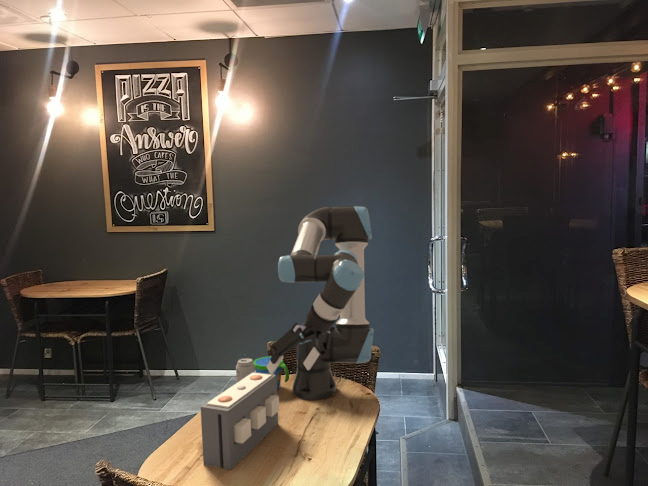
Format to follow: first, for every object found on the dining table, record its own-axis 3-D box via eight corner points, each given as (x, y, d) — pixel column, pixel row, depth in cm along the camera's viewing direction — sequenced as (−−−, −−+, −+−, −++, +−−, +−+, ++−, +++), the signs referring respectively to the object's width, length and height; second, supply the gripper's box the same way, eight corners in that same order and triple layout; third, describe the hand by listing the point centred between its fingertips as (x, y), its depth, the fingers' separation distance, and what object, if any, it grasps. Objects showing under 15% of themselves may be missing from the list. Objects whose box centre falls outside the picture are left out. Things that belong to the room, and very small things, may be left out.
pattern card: (206, 404, 123) (206, 402, 122) (252, 373, 144) (252, 372, 144) (228, 408, 120) (228, 405, 120) (271, 376, 141) (271, 374, 141)
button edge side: (233, 442, 122) (232, 425, 122) (242, 434, 126) (241, 417, 126) (242, 443, 121) (241, 426, 121) (251, 435, 125) (250, 419, 125)
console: (203, 464, 123) (200, 406, 121) (254, 420, 147) (252, 371, 145) (230, 470, 120) (227, 411, 118) (278, 424, 144) (276, 374, 143)
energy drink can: (252, 409, 155) (251, 363, 153) (235, 408, 156) (233, 363, 155) (258, 401, 161) (256, 357, 159) (241, 400, 162) (239, 357, 160)
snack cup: (242, 389, 171) (241, 361, 171) (261, 380, 180) (260, 353, 180) (278, 398, 163) (277, 368, 162) (295, 387, 172) (294, 359, 171)
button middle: (249, 427, 129) (248, 412, 129) (257, 420, 134) (257, 405, 133) (258, 429, 129) (257, 413, 128) (266, 422, 133) (265, 406, 132)
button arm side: (264, 415, 137) (263, 400, 136) (271, 409, 141) (270, 394, 141) (272, 416, 136) (271, 401, 136) (279, 410, 140) (278, 395, 140)
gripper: (296, 322, 117) (259, 383, 125) (363, 321, 135) (326, 374, 142) (282, 301, 122) (246, 361, 129) (348, 303, 139) (313, 356, 147)
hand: (288, 368), depth 136 cm, fingers open, 13 cm apart
